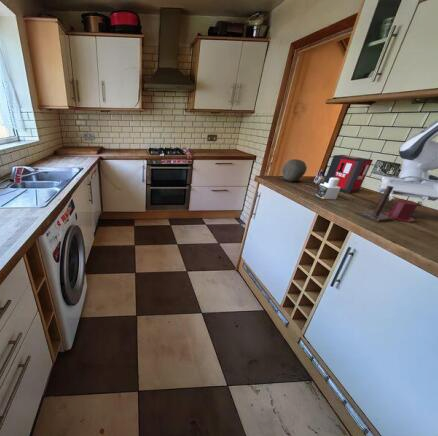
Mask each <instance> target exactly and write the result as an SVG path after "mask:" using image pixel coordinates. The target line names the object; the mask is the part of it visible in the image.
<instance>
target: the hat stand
mask: <svg viewBox="0 0 438 436" xmlns="http://www.w3.org/2000/svg"><path fill="white" fill-rule="evenodd" d="M392 189H393V186H387V188H386V190H385V192H383V194H382V196H381V198H380V200H379V201H378V203H377V206H376V207H375V210H364V211H362V210H361V211H358V212H357V215H359V216H362V217H365V218H367V219H370V220H372V221H374V222H376V223H377V222H378V223H382V222H393V221H394V220H395V219H394V218H392V217H389V216H386V215H384V214H383V213H382V211H383V208H384V207H385V204H386V203H387V202H388V200H389V195H390V193H391V191H392Z"/></svg>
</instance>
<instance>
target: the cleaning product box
mask: <svg viewBox="0 0 438 436" xmlns="http://www.w3.org/2000/svg"><path fill="white" fill-rule="evenodd" d="M372 163H373V159H370V158H366V157H365V158H364V157H358V156H354V155H346V154H334V155H333V157H332V158H331V162H330V165H329V167H328V170H327V172H326V175H325V178H324V180H323V183H322V184H324V182H325V179H326V177H328V176H333V177H337V178H339V182H338V184H337V185H336V186H338V187H340V190H339V192H344V193H347V194H353V193H354V194H355V193H359V191H360V190H361V187H362V185H363V184H364V180H365V178H366V176H367V174H368V172H369V169H370V167H371V165H372Z"/></svg>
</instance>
